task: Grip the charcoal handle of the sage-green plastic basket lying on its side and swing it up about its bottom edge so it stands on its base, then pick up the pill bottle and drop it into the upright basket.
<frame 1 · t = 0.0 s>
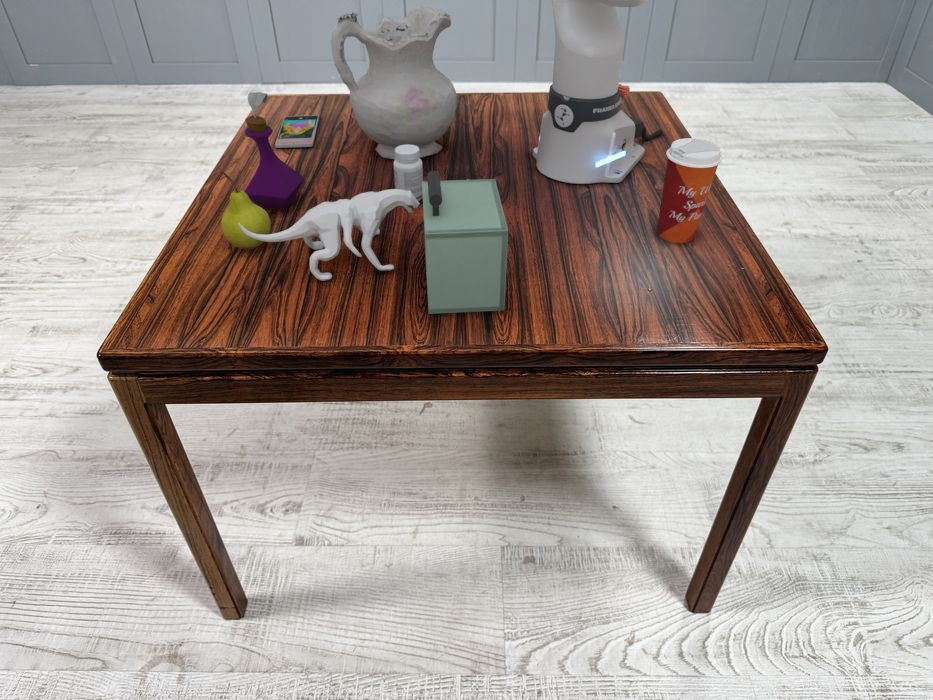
fruit: (251, 247, 99), on the table
smartphone: (298, 133, 131), on the table
perfume bottle: (278, 204, 109), on the table
watch: (469, 203, 109), on the table
paper cup: (675, 235, 101), on the table
pill bottle: (410, 197, 111), on the table
white long-tailed figure: (339, 261, 96), on the table
basket: (462, 234, 86), point 8 cm above the table, hinge at 0.0°
ceramic pitcher: (401, 150, 126), on the table
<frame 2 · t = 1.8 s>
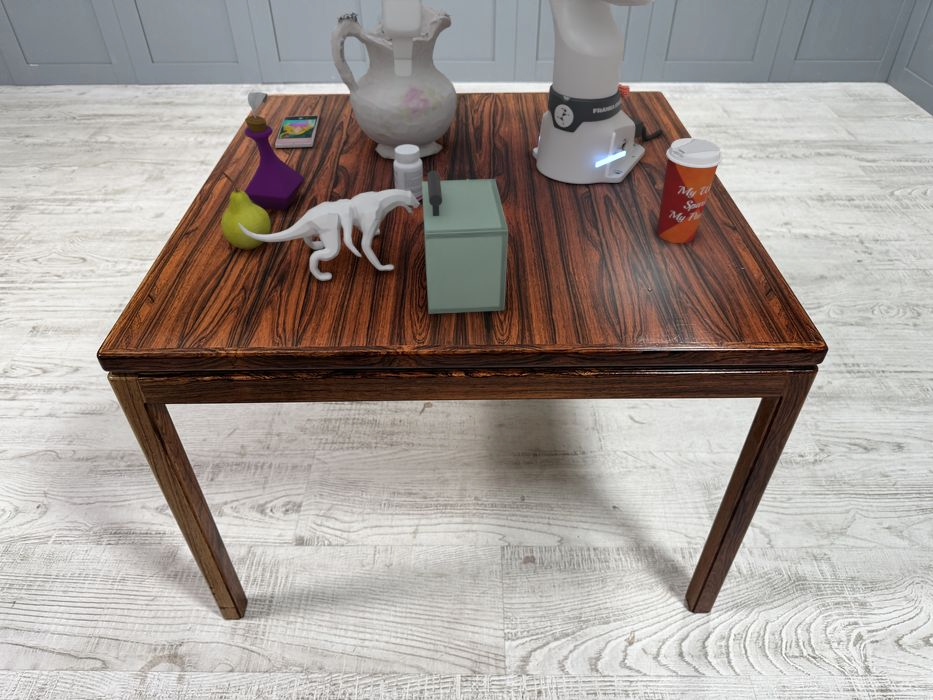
hand: (402, 62, 72), 29 cm above the table, tool pointing down, fingers open, 8 cm apart
nothing on the table moved.
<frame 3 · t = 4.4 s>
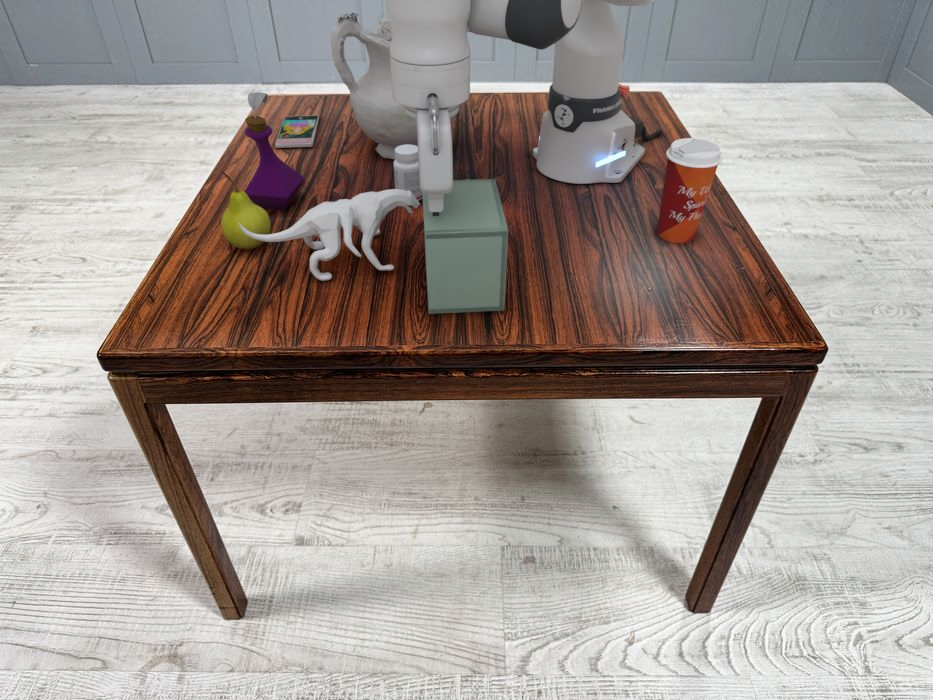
hand: (434, 193, 82), 14 cm above the table, tool pointing down, fingers closed on basket, 7 cm apart
basket: (462, 234, 86), point 8 cm above the table, hinge at 0.0°, touching gripper
everything else where it was.
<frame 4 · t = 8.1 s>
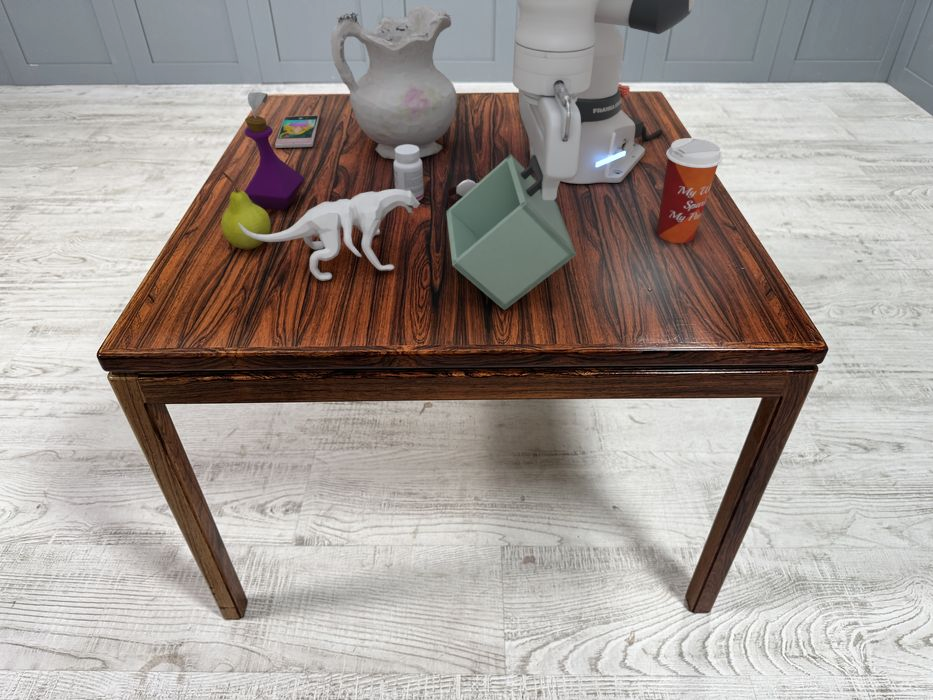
hand: (542, 182, 82), 15 cm above the table, tool pointing down, fingers closed on basket, 7 cm apart
basket: (516, 224, 86), point 9 cm above the table, hinge at 47.1°, touching gripper
everything else where it was.
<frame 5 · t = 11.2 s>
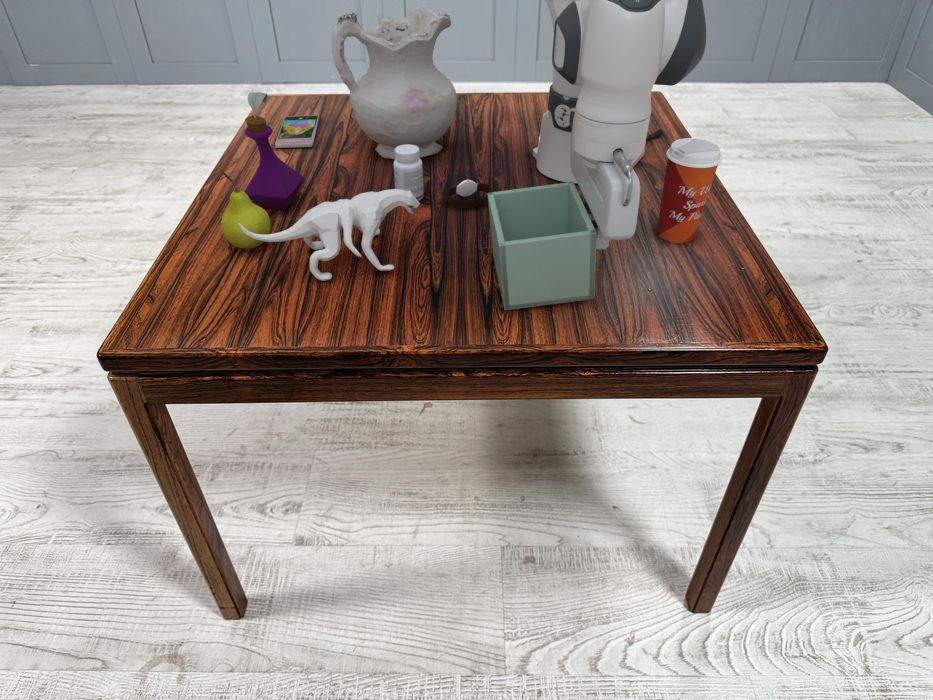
hand: (594, 234, 88), 7 cm above the table, tool pointing down, fingers closed on basket, 5 cm apart
basket: (551, 243, 88), point 6 cm above the table, hinge at 84.1°, touching gripper
everything else where it was.
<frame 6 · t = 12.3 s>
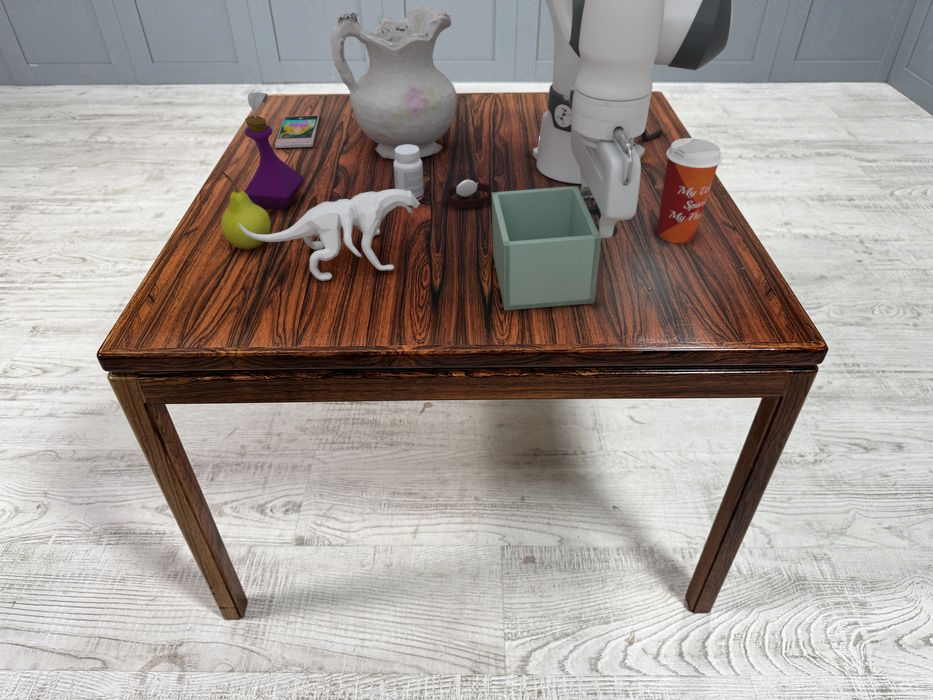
hand: (595, 216, 86), 9 cm above the table, tool pointing down, fingers open, 8 cm apart
basket: (553, 245, 89), point 5 cm above the table, hinge at 87.4°
everything else where it was.
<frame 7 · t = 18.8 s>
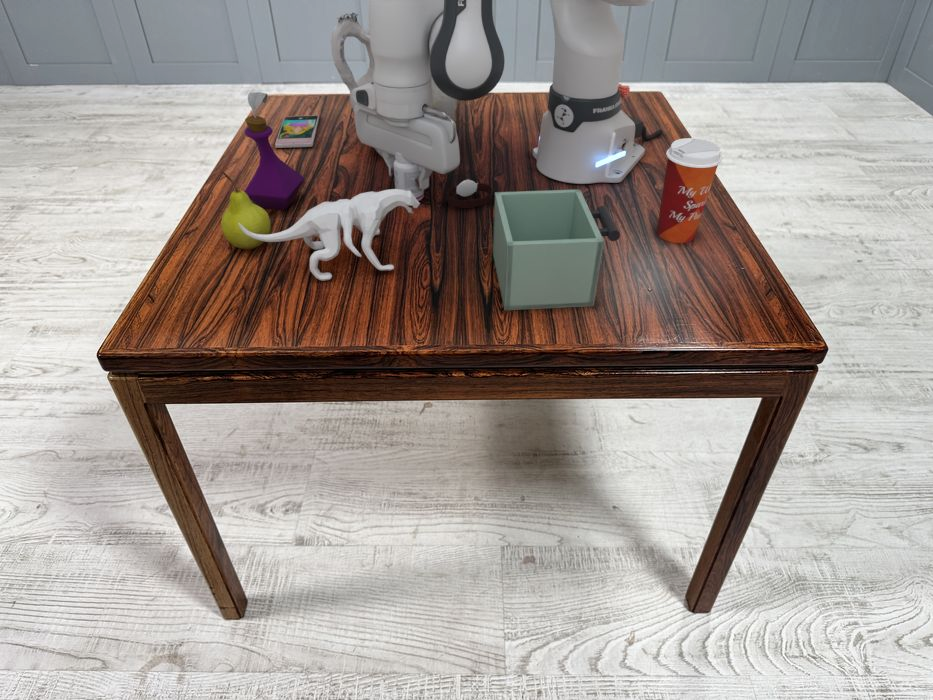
hand: (408, 181, 109), 3 cm above the table, tool pointing down, fingers closed on pill bottle, 5 cm apart
pill bottle: (410, 197, 111), on the table, touching gripper
basket: (554, 247, 89), point 5 cm above the table, hinge at 90.0°
everything else where it was.
when the fingers open (12 cm above the table, at t = 26.1 s): pill bottle drops 8 cm, resting on basket.
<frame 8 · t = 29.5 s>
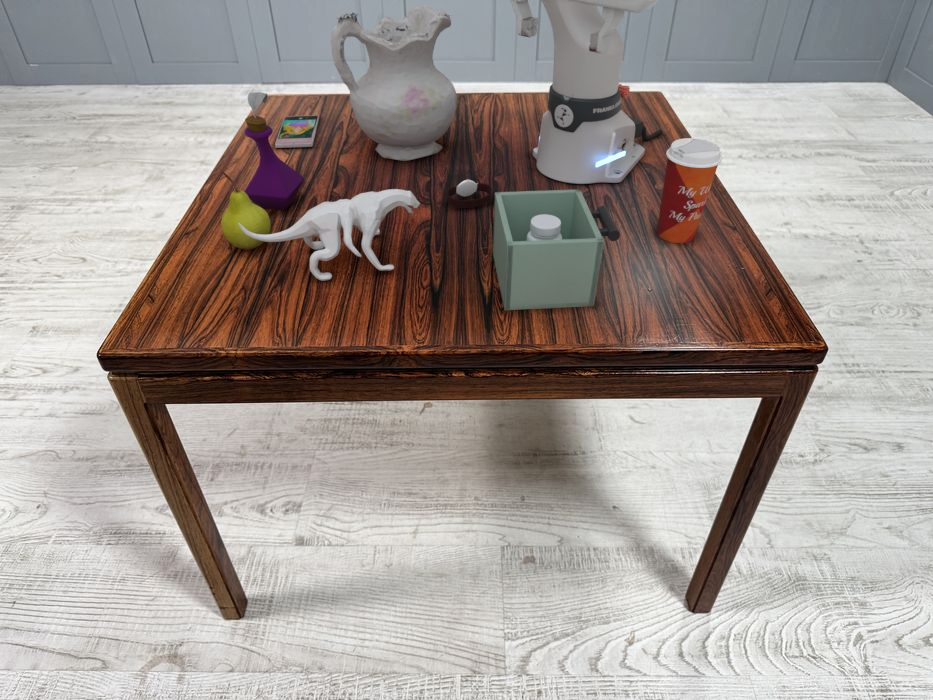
hand: (561, 43, 72), 31 cm above the table, tool pointing down, fingers open, 8 cm apart
pill bottle: (541, 276, 91), point 1 cm above the table, touching basket
basket: (554, 247, 89), point 5 cm above the table, hinge at 90.0°, touching pill bottle
everything else where it was.
at the end: basket at +90° (first picture: +0°); pill bottle inside the target area on the basket (0.4 cm from its centre), point 0.6 cm above the basket's base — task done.
